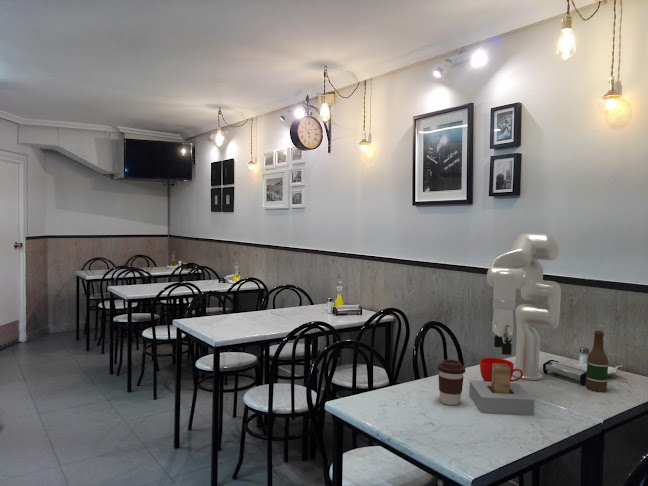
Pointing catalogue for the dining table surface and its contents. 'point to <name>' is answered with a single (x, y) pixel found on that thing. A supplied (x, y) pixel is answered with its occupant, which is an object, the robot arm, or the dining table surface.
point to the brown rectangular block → (500, 378)
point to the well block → (501, 399)
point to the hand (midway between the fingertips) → (502, 350)
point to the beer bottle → (597, 365)
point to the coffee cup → (450, 381)
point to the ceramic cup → (487, 368)
